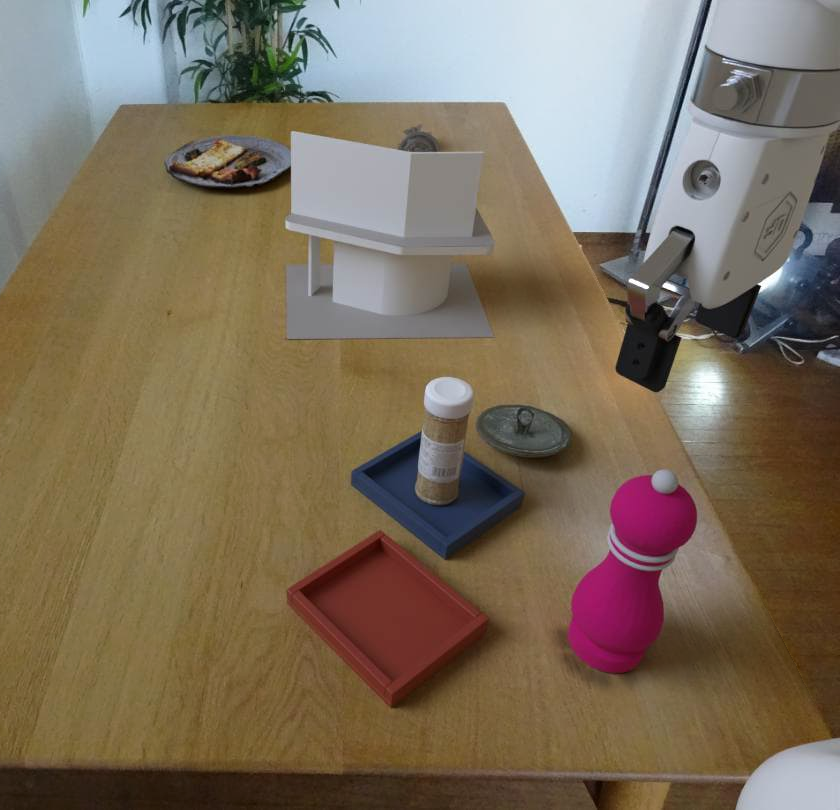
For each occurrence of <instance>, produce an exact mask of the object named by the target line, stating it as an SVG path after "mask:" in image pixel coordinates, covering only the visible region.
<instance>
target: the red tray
mask: <svg viewBox="0 0 840 810" xmlns="http://www.w3.org/2000/svg"><path fill="white" fill-rule="evenodd" d="M286 604H287V605H288V606H289V607H290V608H291V609H292V610H293V611H294V613H296V614H297V615H298V616H299V617H300V618H301V619H302V620H303V621H304V622H305V623H306V624H307V625H308V626H309V628H311V629H312V630H313V631H314V632H315V634H316V635H318V636H319V637H320V639H322V641H324V642H325V644H326V645H328V646H329V647H330V648H331V649H332V650H333V651H334V653H336V655H337V656H339V657H340V658H341V660H342V661H344V662H345V664H346V665H348V666H349V668H351V670H353V671H354V672H355V674H356V675H357V676H359V678H361V680H362V681H364V683H365V684H366V685H367V686H368V687H369V688H370V689H371V690H372V691H373V692H374V693H375V694H376V695H377V696H378V697H379V698H380V699H381V700H382V701H383V702H384V703H385V704H386V705H387V706H388V707H389V708H391V709H392V708H394V706H395V705H397V704H398V703H399V702H400V701H402V700H403V699H404V698H405V697H407V696H408V695H409V694H411V693H412V692H413V691H414V690H415V689H417V688H418V687H419V686H421V685H422V684H423V683H424V682H426V681H427V680H428V679H429V678H431V677H432V676H433V675H434V674H436V673H437V672H438V671H439V670H441V669H442V668H443V667H444V666H446V665H447V664H448V663H450V662H451V661H452V660H454V659H455V658H456V657H457V656H459V654H461V653H462V652H463V651H465V650H466V649H467V648H468V647H469V646H471V645H472V644H473V643H475V641H477V640H478V639H479V638H481V637H482V636H484V635H485V634H486V633H487V628H488V623H489V617H487V616H486V615H485V614H484V613H483V612H481V611H480V610H479V609H477V607H475V606H474V605H473V604H471V603H470V602H469V601H468V600H467V599H465V598H464V597H463V596H462V595H461V594H459V593H458V592H457V591H456V590H454V589H453V588H452V587H451V586H449V584H447V583H446V582H445V581H443V580H442V579H441V578H440V577H439V576H437V575H436V574H435V573H434V572H433V571H432V570H430V569H429V568H428V567H426V566H425V565H424V564H423V563H422V562H421V561H419V560H418V559H417V558H416V557H414V556H413V554H411V553H409V551H407V550H406V549H404V548H403V547H402V546H401V545H400V544H399V543H398V542H396V541H395V540H393V539H392V538H391V537H390V536H389V535H388V534H386V532H384V531H383V530H382V529H379V530H377V531H375V532H374V533H373V534H371V535H369V536H367V537H366V538H365V539H363V540H361V541H360V542H358V543H357V544H355V545H354V546H352V547H350V548H349V549H347V550H346V551H344V552H342V553H341V554H340V555H338V556H336V557H335V558H333V559H332V560H330V561H329V562H327V563H326V564H324V565H322V566H321V567H319V568H318V569H316V570H315V571H313V572H311V573H309V574H308V575H307V576H305V577H304V578H302V579H300V580H299V581H297V582H295V583H294V584H293V585H291V586H289V587H287V589H286Z"/></svg>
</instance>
